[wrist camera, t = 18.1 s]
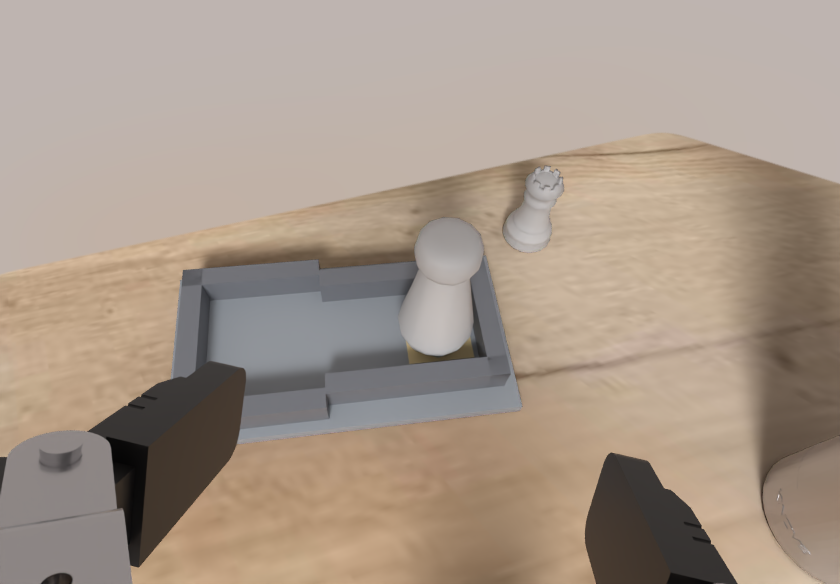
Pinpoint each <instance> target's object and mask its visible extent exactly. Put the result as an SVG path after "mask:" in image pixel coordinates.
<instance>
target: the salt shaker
mask: <svg viewBox="0 0 840 584" xmlns="http://www.w3.org/2000/svg"><path fill="white" fill-rule="evenodd" d="M414 254H415V258H416V263H417V266H418V268H419V270H418V272H417V274H416V277H415V279H414V281H413V283H412V285H411V287H410V289H409V291H408V293H407V295H406V297H405V299H404V301H403V304H402V306H401V309H400V312H399V315H398V320H399V325H400V331H401V335H402V336H403V337H404V339H405V340H406V341H407V343H408V344H409V345H410V347H411V348H413V349H414V350H415V351H417V352H420V353H423V354H425V355H431V356H434V357H438V358H439V357H441V356H444V355H447V354H450V353H452V352H455V351H458V350H459V349H460V348H461V346H462V345H463V344H464V343H465V342H466V341H467V340H468V339H469V338H470V335H471V331H472V327H473V323H474V320H473V308H472V296H471V284H470V278H471V277H472V276H473V275H474V274H475V273H476V272H477V271H478V270H479V268H480V265H481V262H482V258H483V254H484V245H483V241H482V238H481V234H480V233H479V232H478V231H477V230H476V229H475V228H474V227H473V226H472V225H471V224H470V223H467V222H465V221H463V220H461V219H459V218H448V217H443V218H439V219H436V220H432V221H430V222H429V223H428V224H427V225H425V226H424V227H423V228H422V229H421V231H420V233H419V236H418V238H417V241H416V244H415V247H414Z"/></svg>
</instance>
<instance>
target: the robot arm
mask: <svg viewBox="0 0 840 584" xmlns="http://www.w3.org/2000/svg"><path fill="white" fill-rule="evenodd" d="M245 384H246V371H245V369H244V368H241V367H237V366H232V365H228V364H223V363H219V362H215V361H209V362H207V363H206V364H204V365H203V366H202V367H200V368H199V369H197V370H196V371H195V372H193V373H192V374H191V375H189V376H188V377H187V378H185V377H181V376H180V377H177V378H174V379H170V380H167V381H164V382H161V383H158V384H156V385H155V386H153V387H152V388H150V389H149V390H147V391H146V392H145V393H143V394H142V395H141V397H137V398H136V399H134V400H133V401H131V402H130V403H128V406H124V407H123V408H121V409H120V410H118V411H117V412H115V413H114V414H112V415H111V416H109V417H108V418H106V419H105V420H104V421H102V422H101V423H99V424H98V425H96V426H95V427H93V428H92V429H90V430H89V431H87V432H86V431H71V430H70V431H57V432H51V433H46V434H42V435H39V436H35V437H33V438H30V439H28V440H26V441H24V442H22V443H20V444H19V445H17V446H16V447H15V448H14V449H12V450H11V452H10V453H9V454H8V457H0V584H132V577H131V568H130V565H131V566H135V567H140V565H141V564H142V563H143V562H144V561H145V560H146V558H147V557H148V556H149V555H150V554H151V552H152V551H153V550H154V549H155V548H156V546H157V545H158V544H159V543H160V542H161V541H162V539H163V538H164V537H165V536H166V535H167V533H168V532H169V531H170V530H171V529H172V527H173V526H174V525H175V524H176V523H177V522H178V520H179V519H180V518H181V517H182V516H183V514H184V513H185V512H186V511H187V510H188V508H189V507H190V506H191V505H192V504H193V503H194V501H195V500H196V499H197V498H198V497H199V495H200V494H201V493H202V492H203V491H204V489H205V488H206V487H207V486H208V485H209V484H210V482H211V481H212V480H213V479H214V478H215V476H216V475H217V474H218V473H219V472H220V470H221V469H222V468H223V467H224V466H225V465H226V463H227V462H228V461H229V459H230V458H231V456H232V454H233V452H234V450H235V447H236V444H237V441H238V437H239V432H240V424H241V416H242V408H243V400H244V392H245ZM763 504H764V511H765V515H766V518H767V521H768V524H769V527H770V529H771V530H772V532H773V534H774V536H775V538H776V540H777V542H778V543H779V544H780V546H781V547H782V548H783V550H784V551H785V552H786V554H787V555H788V556H789V557H790V558H791V559H792V560H793V561H794V562H795V563H796V564H797V565H798V566H799V567H800V568H802V569H803V570H804V571H806V572H807V573H808V574H810V575H811V576H812V577H814V578H816V579H818V580H820V581H822V582H824V583H826V584H840V435H839V436H837V437H834V438H832V439H829V440H827V441H824V442H821V443H819V444H816V445H814V446H811V447H809V448H806V449H804V450H802V451H799V452H797V453H794V454H792V455H789V456H787V457H785V458H782V459H781V460H779V461H778V462H777V463H776V464H774V465H773V466H772V468H771V469H770V471H769V472H768V474H767V476H766V479H765V482H764V485H763ZM585 544H586V549H587V552H588V556H589V559H590V563H591V567H592V570H593V574H594V577H595V581H596V584H737V582H736V580H735V579H734V577H733V576H732V574H731V572H730V571H729V569H728V568H727V566H726V564H725V563H724V561H723V559H722V558H721V556H720V555H719V553H718V551H717V550H716V548H715V547H714V545H712V544H711V540H710V538H709V537H708V535H707V534H706V532H705V530H704V529H701V524H700V522H699V521H698V519H697V517H696V516H695V514H694V513H693V511H692V509H691V508H690V507H689V506H688V505H687V504H686V503H685V502H684V501H682V500H681V499H680V498H679V497H678V496H677V495H676V494H675V493H674V492H672V491H671V490H668V489H664V487H663V486H662V484H661V482H660V481H659V479H658V477H657V475H656V474H655V472H654V470H653V468H652V467H651V465H650V463H649V462H648V461H646V460H642V459H637V458H633V457H629V456H624V455H620V454H615V453H610V454H609V455H608V456H607V457H606V459H605V462H604V464H603V468H602V471H601V474H600V477H599V480H598V484H597V487H596V490H595V493H594V496H593V500H592V503H591V506H590V509H589V512H588V516H587V520H586V527H585Z"/></svg>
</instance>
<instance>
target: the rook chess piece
mask: <svg viewBox="0 0 840 584" xmlns="http://www.w3.org/2000/svg"><path fill="white" fill-rule="evenodd" d="M550 167H551V166H545V167H544V169H543V170H541V168H540V167H538V168H536V169H535V171H534V172H532V173H531V174H529V175H528V176H527V178H526V180H525V186H526V188H527V189H526V190H525V192H524V201H523V203H522V205H521V206H520V207H519V208H517V209H516V210H514V211H513V212H511V213H510V215H509V216H508V218H507V219H506V223H505V224H504V226H503V235H504V237H505V239H506V241H507V242H508V243H509V244H510V245H511V246H512V247H513V248H514V249H516V250H518V251H520V252H527V253H532V252H537V251H540V250H542V249H543V248H545V247H546V246H547V244H548V242H549V241H550V236H551V234H552V224H551V222H550V218H549V215H550V210H551V208H552V207H553V206H554V205H555V203H556V199H557V198H558V197H560V196H561V195H562V193H563V192H564V184H563V177H559V175H560V173H561V172H559V171H558V170H557V169H556V170H554V172H552V171H550Z"/></svg>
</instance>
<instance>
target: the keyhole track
mask: <svg viewBox="0 0 840 584" xmlns="http://www.w3.org/2000/svg"><path fill="white" fill-rule="evenodd" d="M418 270H419V268H418V266H417V263H416V261H411V262H398V263H386V264H374V265H361V266H349V267H336V268H324V269H320V267H319V261H318V260H306V261H293V262H280V263H267V264H255V265H242V266H229V267H216V268H204V269H191V270H183V276H182V280H180V290H179V300H178V311H177V321H176V331H175V342H174V352H173V363H172V373H171V379H174V378H177V377H180V376H181V377H185V378H187V377H188V376H189V375H191V374H192V373H193V372H195V371H196V370H197V369H199V368H200V367H202V366H203V365H204V364H206V363H207V362H209V361H215V362H219V363H223V364H228V365H232V366H237V367H241V368H244V369H245V371H246V384H245V392H244V400H243V408H242V416H241V424H240V432H239V437H238V441H237V444H243V443H252V442H260V441H269V440H277V439H286V438H294V437H303V436H311V435H319V434H328V433H336V432H345V431H353V430H362V429H370V428H379V427H387V426H396V425H404V424H413V423H421V422H430V421H438V420H447V419H455V418H463V417H472V416H480V415H489V414H497V413H506V412H514V411H520V409H521V408H522V403H521V399H520V395H519V391H518V387H517V383H516V378H515V374H514V370H513V366H512V362H511V358H510V354H509V350H508V345H507V341H506V337H505V333H504V329H503V325H502V321H501V316H500V312H499V308H498V304H497V300H496V296H495V292H494V288H493V283H492V279H491V275H490V271H489V267H488V263H487V259H486V255H485V256H483V258H482V262H481V265H480V268H479V270H478V271H477V272H476V273H475V274H474V275H473V276H472V277H471V278H470V284H471V296H472V308H473V320H474V323H473V327H472V331H471V335H470V338H469V339H468V340H467V341H466V342H465V343H464V344H463V345H462V346H461V348H460V349H459V350H458V351H455V352H452V353H450V354H447V355H444V356H441V357H439V358H438V357H434V356H431V355H425V354H423V353H420V352H417V351H415V350H414V349H413V348H411V347H410V345H409V344H408V343H407V341H406V340H405V339H404V337H403V336H402V335H401V331H400V325H399V320H398V315H399V312H400V309H401V306H402V304H403V301H404V299H405V297H406V295H407V293H408V291H409V289H410V287H411V285H412V283H413V281H414V279H415V277H416V274H417V272H418Z"/></svg>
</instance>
